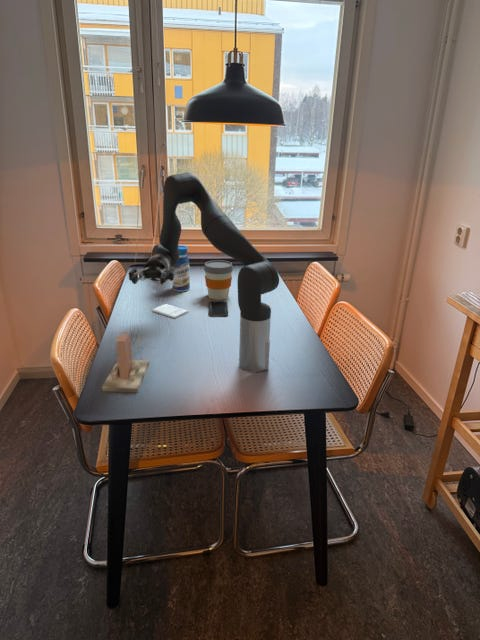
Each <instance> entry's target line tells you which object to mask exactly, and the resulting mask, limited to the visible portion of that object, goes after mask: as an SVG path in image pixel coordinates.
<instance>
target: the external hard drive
mask: <svg viewBox="0 0 480 640" xmlns="http://www.w3.org/2000/svg"><path fill="white" fill-rule="evenodd" d="M151 310H152V311H151V312H152V313H155V312H156V314H158V313H159V315H162V316H165V317H168V318H171V319H175V320H176V319H177V318H178V319H179V318H180V317H181V316H183V315H187V314H189V310H187V309H184V308H180V307H179V306H178V307H177V306H175V305H170V304H167V303H164V304H162V305H159V306H157V307H155V308H152V309H151Z"/></svg>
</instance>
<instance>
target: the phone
mask: <svg viewBox="0 0 480 640" xmlns="http://www.w3.org/2000/svg"><path fill="white" fill-rule="evenodd" d="M208 316H209V317H211V318H213V317H214V318H216V317H218V318H219V317H221V318H223V317H228V316H229V308H228V301H222V300H218V301H217V300H215V301H214V300H213V301H212V300H211V301H209V303H208Z"/></svg>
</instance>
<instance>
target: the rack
mask: <svg viewBox="0 0 480 640" xmlns="http://www.w3.org/2000/svg"><path fill="white" fill-rule="evenodd" d="M149 366H150V360H140V359H139V360H137V359H136V360H135V359H132V367H133V369H132V371H131V373H130V376H129V378H120V373H119V363H118V359H117V360H116V362H115V364H114V365H113V367H112V368H111V371H110V372H109V373H108V376H107V378H106V379H105V381H104V382H103V384H102V387H101V391H102V392H114V393H117V392H119V393H122V392H124V393H139V389H140V387H141V385H142V382H143V380H144V378H145V375H146V373H147V371H148V368H149Z"/></svg>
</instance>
